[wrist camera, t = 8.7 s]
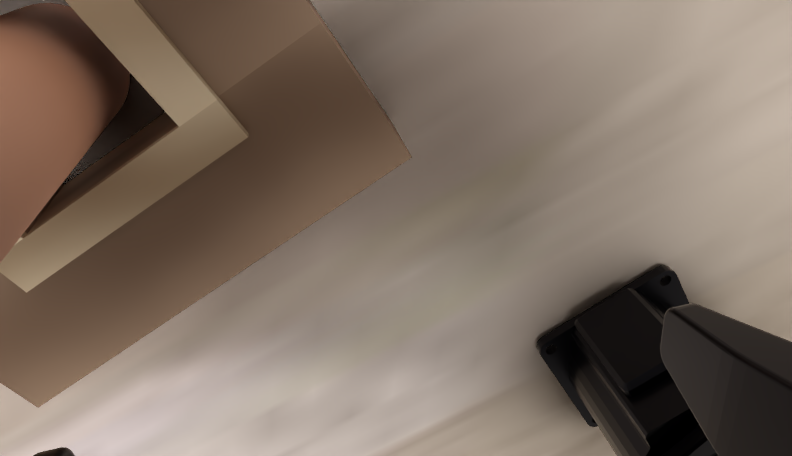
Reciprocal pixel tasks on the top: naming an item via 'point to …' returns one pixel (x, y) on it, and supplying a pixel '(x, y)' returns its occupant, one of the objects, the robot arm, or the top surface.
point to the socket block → (188, 178)
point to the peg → (49, 106)
